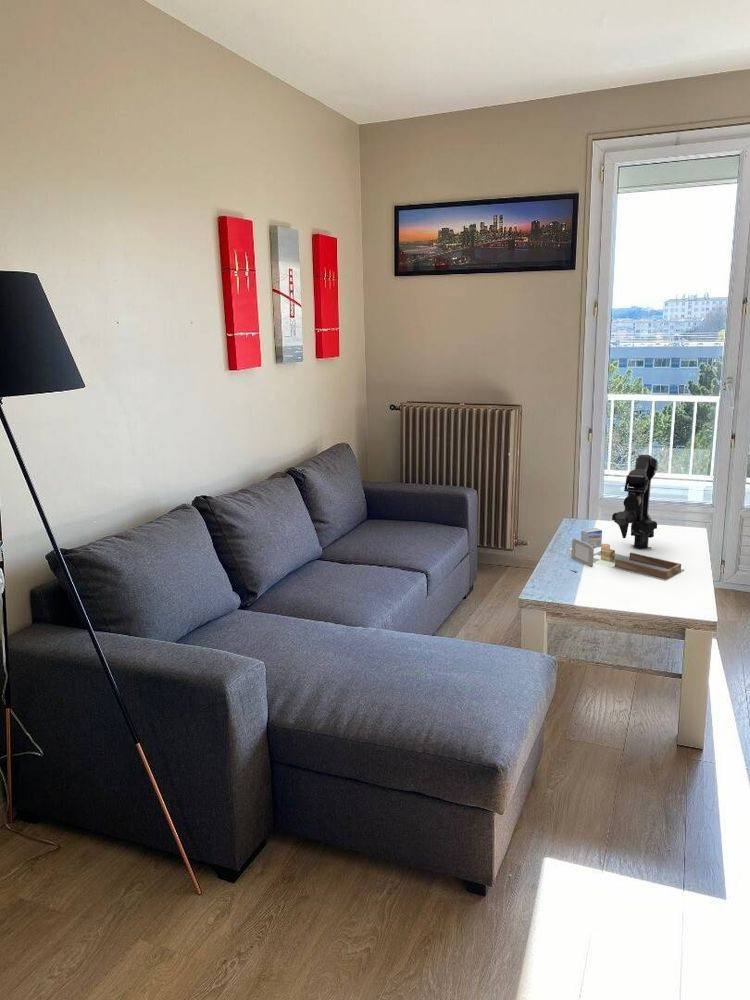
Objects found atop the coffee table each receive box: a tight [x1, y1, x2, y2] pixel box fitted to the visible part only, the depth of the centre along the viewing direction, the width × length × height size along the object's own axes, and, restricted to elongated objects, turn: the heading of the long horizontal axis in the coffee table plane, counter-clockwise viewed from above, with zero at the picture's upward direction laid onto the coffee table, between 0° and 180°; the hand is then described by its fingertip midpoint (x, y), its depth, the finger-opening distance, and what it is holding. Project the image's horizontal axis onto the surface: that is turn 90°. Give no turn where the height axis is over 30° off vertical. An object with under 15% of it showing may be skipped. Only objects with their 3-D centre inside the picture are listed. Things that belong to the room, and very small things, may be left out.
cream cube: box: [568, 546, 572, 557], centre depth 318 cm, size 4×4×4 cm
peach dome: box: [600, 543, 611, 551], centre depth 317 cm, size 4×4×4 cm
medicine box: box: [580, 527, 603, 549], centre depth 328 cm, size 8×4×9 cm, turn 112°
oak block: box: [600, 548, 616, 562], centre depth 311 cm, size 4×4×4 cm
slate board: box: [593, 550, 686, 582], centre depth 304 cm, size 17×36×1 cm, turn 44°
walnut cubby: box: [615, 552, 682, 580], centre depth 299 cm, size 13×21×3 cm, turn 44°
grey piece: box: [570, 538, 595, 573], centre depth 306 cm, size 13×9×10 cm
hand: (632, 541), depth 304 cm, fingers open, 9 cm apart
